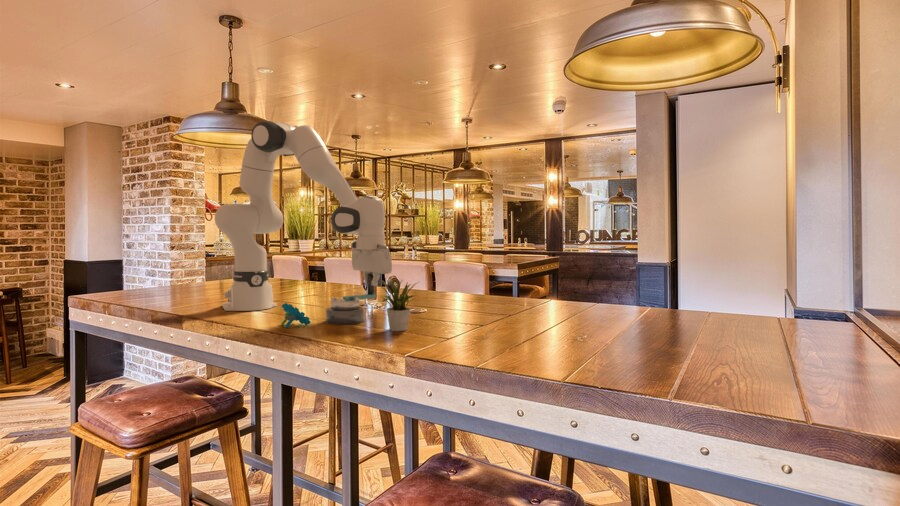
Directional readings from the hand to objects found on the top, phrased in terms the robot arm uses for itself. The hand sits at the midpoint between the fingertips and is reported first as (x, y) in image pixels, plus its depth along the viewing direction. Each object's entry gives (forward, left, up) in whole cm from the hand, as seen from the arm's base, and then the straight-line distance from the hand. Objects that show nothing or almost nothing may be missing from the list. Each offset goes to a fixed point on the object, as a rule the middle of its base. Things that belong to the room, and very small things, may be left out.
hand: (371, 285), depth 165 cm
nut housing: (0, -10, -11) cm, 15 cm away
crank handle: (0, -7, -7) cm, 9 cm away
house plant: (+21, -5, -11) cm, 25 cm away
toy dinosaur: (-2, -26, -11) cm, 28 cm away
